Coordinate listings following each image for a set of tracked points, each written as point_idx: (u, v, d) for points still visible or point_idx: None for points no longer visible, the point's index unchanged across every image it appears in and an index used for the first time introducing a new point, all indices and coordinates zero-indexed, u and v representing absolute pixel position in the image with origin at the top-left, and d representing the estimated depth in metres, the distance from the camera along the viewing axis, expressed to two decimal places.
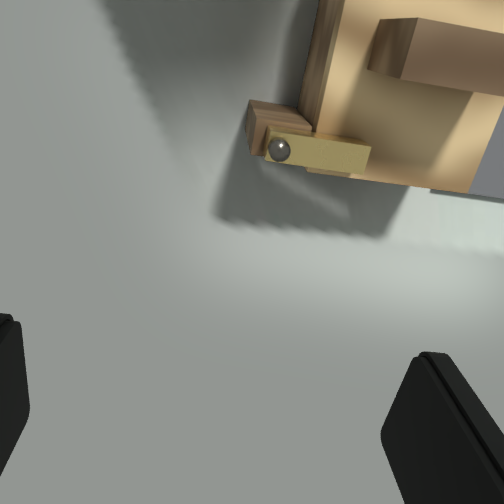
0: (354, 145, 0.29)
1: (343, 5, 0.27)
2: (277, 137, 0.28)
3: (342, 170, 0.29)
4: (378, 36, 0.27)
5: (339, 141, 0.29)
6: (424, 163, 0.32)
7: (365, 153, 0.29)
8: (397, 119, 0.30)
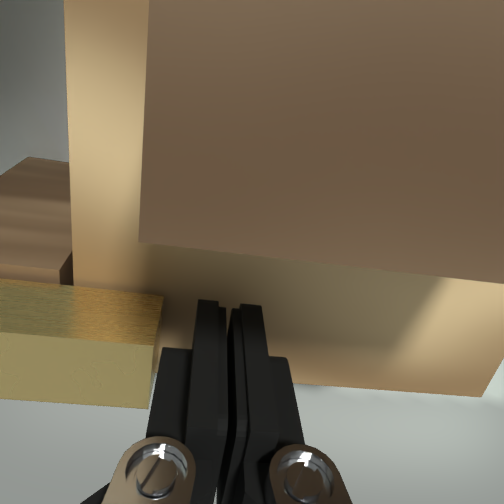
0: (98, 344, 0.09)
1: None
2: None
3: (81, 401, 0.10)
4: None
5: (51, 331, 0.09)
6: (377, 344, 0.13)
7: (140, 362, 0.10)
8: None
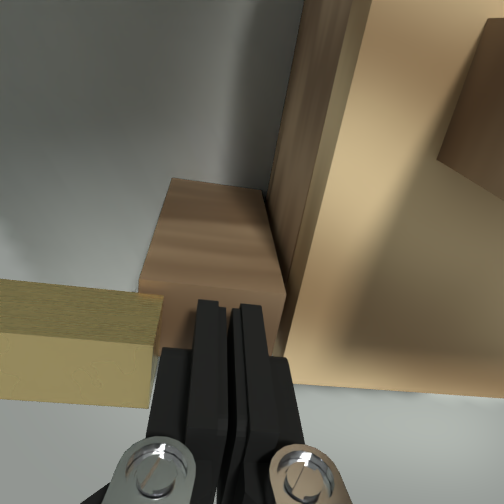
0: (98, 344, 0.09)
1: None
2: None
3: (82, 401, 0.10)
4: (482, 70, 0.09)
5: (51, 332, 0.09)
6: None
7: (140, 362, 0.10)
8: None
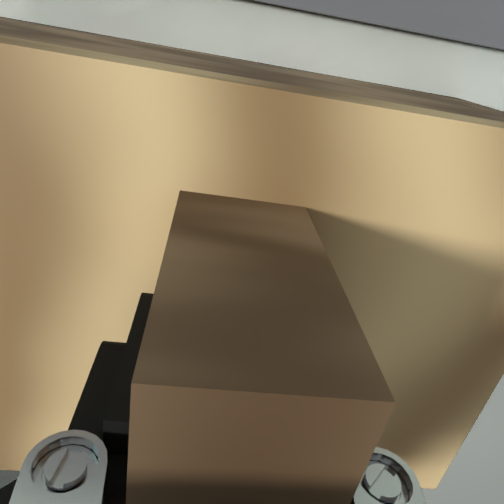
0: None
1: None
2: None
3: None
4: None
5: None
6: (489, 291, 0.12)
7: None
8: None
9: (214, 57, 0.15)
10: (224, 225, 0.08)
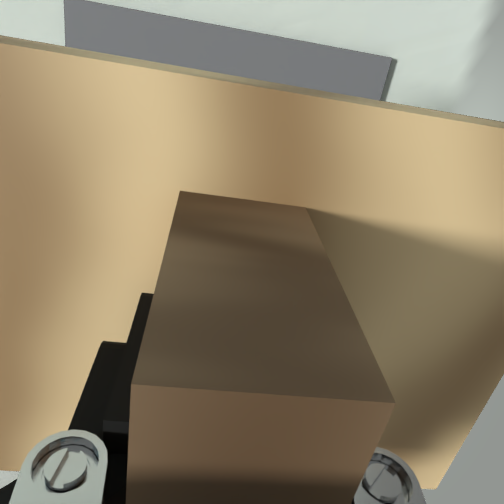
0: None
1: None
2: None
3: None
4: None
5: None
6: (489, 291, 0.12)
7: None
8: None
9: None
10: (224, 225, 0.08)
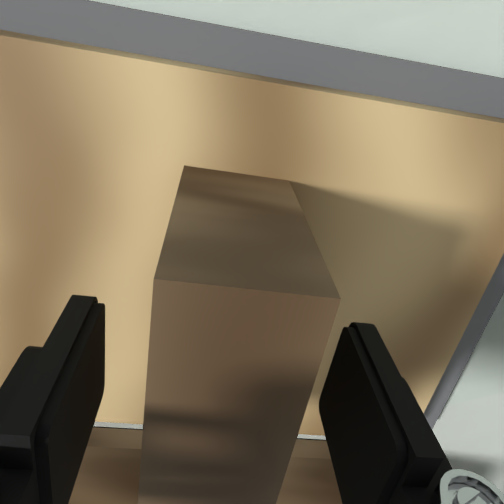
0: None
1: None
2: None
3: None
4: None
5: None
6: (447, 256, 0.14)
7: None
8: (339, 325, 0.15)
9: None
10: (220, 190, 0.10)
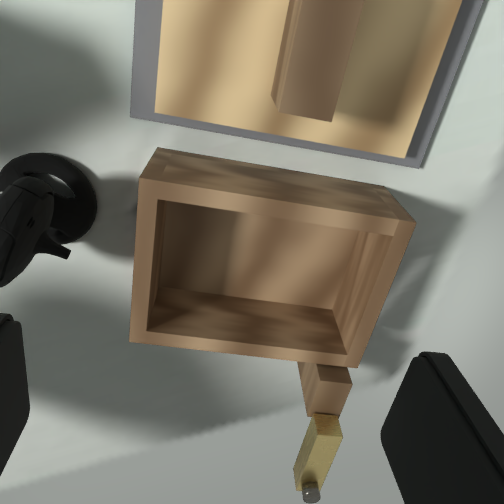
0: (314, 445, 0.33)
1: (257, 130, 0.30)
2: (302, 487, 0.35)
3: (336, 450, 0.33)
4: None
5: (310, 451, 0.33)
6: (426, 18, 0.26)
7: (323, 437, 0.32)
8: (368, 62, 0.28)
9: (261, 170, 0.31)
10: None
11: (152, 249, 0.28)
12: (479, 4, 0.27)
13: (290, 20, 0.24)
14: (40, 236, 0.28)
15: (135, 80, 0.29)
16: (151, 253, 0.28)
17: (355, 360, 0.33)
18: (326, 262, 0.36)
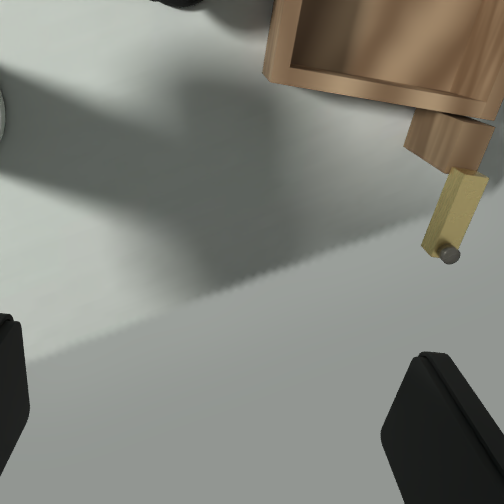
0: (459, 189, 0.32)
1: None
2: (437, 251, 0.34)
3: (479, 197, 0.32)
4: None
5: (452, 201, 0.32)
6: None
7: (470, 178, 0.31)
8: None
9: None
10: None
11: None
12: None
13: None
14: None
15: None
16: None
17: (493, 109, 0.33)
18: (450, 29, 0.35)
